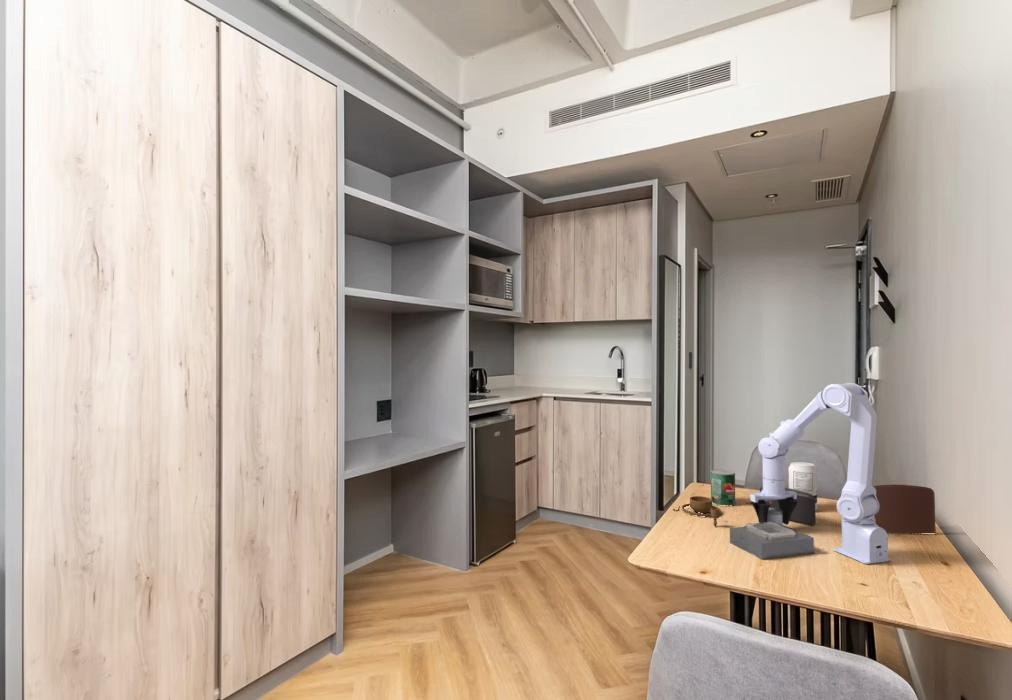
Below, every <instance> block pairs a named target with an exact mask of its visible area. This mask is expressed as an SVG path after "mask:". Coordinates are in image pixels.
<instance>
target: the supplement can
mask: <svg viewBox="0 0 1012 700" xmlns="http://www.w3.org/2000/svg"><path fill="white" fill-rule="evenodd" d="M788 488H790V489H795V490H799V491H803V492H806V493H809V494H811V495H813V496H814V498H815V511H817V510H818V469H817V468H816V465H815V464H814V463H810V462H803V461H792V462H790V464H789V466H788Z"/></svg>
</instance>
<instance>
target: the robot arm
mask: <svg viewBox="0 0 1012 700" xmlns="http://www.w3.org/2000/svg"><path fill="white" fill-rule="evenodd" d="M832 409H833V410H835V411H837V412H840V413H841V414H842V415H843V416H844V417H846V419H848V420H849V421H850V433H849V435H850V436H849V446H848V447H849V449H848V459H847V460H848V463H847V475H846V482H845V484H844V486H843V488H842V490H841V493H840V494H841V496H840V497H839V499H838V500H837V502H836V510H837V513H838V514H839V516H840V517H841V547H835V548H833V551H834V552H836V553H839V554H842V555H843V556H846V557H849V558H851V559H853V560H855V561H858V562H861V563H863V564H864V565H869V564H877V563H885V561H886V562H891V561H892V559H891V558H890V557H889V537H888V536H889V535H888V534H887V533H886V531H885V530H884V529H883V528H881V527H879V526H878V525H877V524H876V523H875V517H874V515H875V514H876V513H877V512H878V511H879V502H878V500H877V497H876V489H875V488H874V487H873V486H874V485H873V474H874V463H875V462H874V461H875V450H876V437H877V434H876V433H877V425H878V423H877V421H878V415H877V413H876V411H875V409H874V407H873V405H872V402H871V401H870V399H869V392H867V391H866V390H865V389H864V388H863V387H861V386H860V385H858V384H857V383H854V382H847V383H831V384H828V385H827V386H825V387H824V389H823V390H821V391H819V392H818V393H817V394H816V395H815V397H814V398H813V399H812V400H811V401H810V402H809V403H808V405H806V406H805V407H804V408H803V409H802V411H801V412H800V413H798V414H797V416H796V417H794V419H789V418H788V419H786V420H782V421H781V422H779V424H780V425H779V426H778V428H776V429H775V431H774V430H773V431H771V432H769V434H768V435H769V437H764V438H761V439H760V441H759V443H758V445H757V447H758V449H757V450H758V451H759V454H760V455H761V456H762V459H761V460H762V486H763V490H762V492H760V491H759V492H756V493H755V492H754V493H750V497H749V498H750V504H751V505H752V507H753V508H754V509H753V510H754V511H755V514H756V516H757V520H758V523H764V522H767V515H768V510H769V507H770V505H768V504H766V502H765V501H769V500H778V503H779V507H780V510H782V515H783V525H785V526H789V523H790V521H789V520H790V517H791V514H792V511H793V510H794V508H795V506H796V505H797V501H796V500H793V499H797V492H794V491H785V488H786V487H785V486H786V485H785V479H786V477H785V460H786V459H785V458H786V457H785V456H787V454H788V453H789V450H790V447H792V446H793V445H794V444H795V443H796V442H797V441H799V439H800V438H802V437H803V436H804V435H805V428H806V427H807V426H809V424H811V423H812V422H813V421H814V420H815V419H817V418H818V417H820V415H822V414H823V413H824V412H826V411H827V410H832Z"/></svg>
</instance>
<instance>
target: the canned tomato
mask: <svg viewBox="0 0 1012 700" xmlns="http://www.w3.org/2000/svg"><path fill="white" fill-rule="evenodd" d="M710 499H712V502H713V503H715V504H719V505H726V506H725V507H731V506H730V505H734V506H736V471H734V470H730V469H726V468H725V469H724V468H723V469H722V468H716V469H711V470H710ZM715 504H714V505H715ZM719 505H718V506H719ZM727 505H728V506H727Z"/></svg>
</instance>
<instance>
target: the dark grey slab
mask: <svg viewBox="0 0 1012 700" xmlns="http://www.w3.org/2000/svg"><path fill="white" fill-rule="evenodd" d="M762 490H763V485H761V486H760V488H759V492H762ZM785 491H794V492H797V499H793V500H796V501H797V505H796V506H795V508H794V510H793V511H792V514H791V517H790V520H789V522H791V523H792V522H793V523H797V524H801V525H804V526H805V525H806V526H815V524H816V521H817V519H816V516H817V515H816V510H815V498H814V496H813V495H811V494H809V493H806V492H803V491H799V490H795V489H790V488H789V487H785ZM765 502H766V504H768V505H770V507H769V508H776V509H780V507H779V503H778V500H769V501H765Z"/></svg>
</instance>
